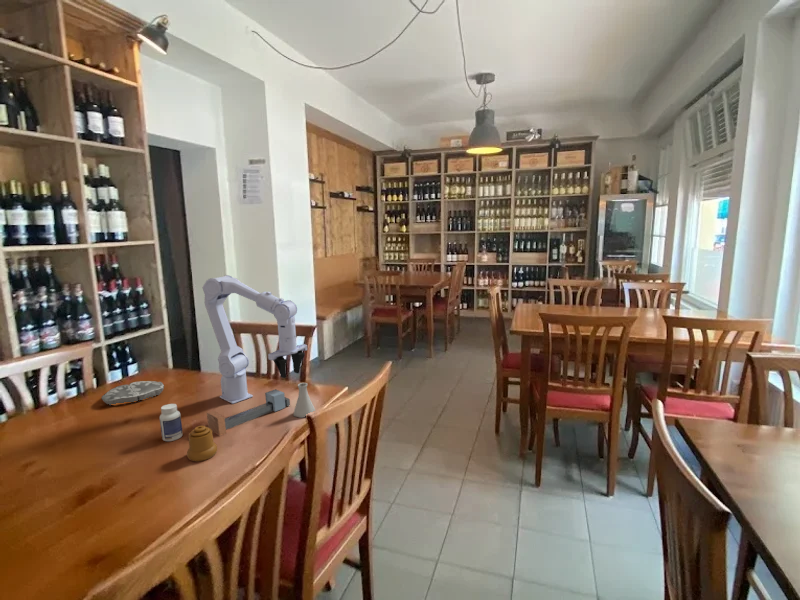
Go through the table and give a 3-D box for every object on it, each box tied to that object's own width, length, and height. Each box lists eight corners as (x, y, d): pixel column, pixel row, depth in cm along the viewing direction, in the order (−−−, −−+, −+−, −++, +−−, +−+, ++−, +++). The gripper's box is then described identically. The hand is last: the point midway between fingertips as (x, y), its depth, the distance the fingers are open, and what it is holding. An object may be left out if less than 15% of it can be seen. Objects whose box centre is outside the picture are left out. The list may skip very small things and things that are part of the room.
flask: (318, 408, 141) (316, 380, 139) (311, 418, 134) (309, 388, 132) (297, 408, 142) (295, 380, 140) (289, 418, 135) (287, 388, 133)
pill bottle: (187, 434, 125) (183, 404, 124) (170, 443, 120) (166, 411, 119) (174, 431, 128) (170, 401, 126) (158, 439, 123) (154, 408, 121)
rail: (208, 429, 128) (206, 412, 128) (280, 401, 148) (279, 386, 147) (219, 436, 124) (217, 418, 123) (292, 406, 143) (291, 391, 142)
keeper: (266, 407, 142) (265, 392, 142) (276, 403, 145) (275, 389, 145) (275, 411, 139) (274, 396, 138) (285, 407, 142) (284, 392, 141)
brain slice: (157, 384, 169) (156, 377, 168) (169, 395, 156) (168, 388, 156) (98, 398, 156) (96, 390, 155) (105, 412, 143) (104, 404, 143)
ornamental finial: (220, 446, 118) (213, 461, 111) (192, 449, 117) (183, 464, 110) (218, 420, 117) (210, 432, 109) (189, 422, 116) (179, 435, 108)
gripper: (275, 343, 135) (278, 383, 137) (311, 334, 146) (314, 371, 148) (263, 340, 140) (266, 379, 142) (299, 331, 151) (301, 367, 153)
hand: (290, 374), depth 145 cm, fingers open, 5 cm apart
